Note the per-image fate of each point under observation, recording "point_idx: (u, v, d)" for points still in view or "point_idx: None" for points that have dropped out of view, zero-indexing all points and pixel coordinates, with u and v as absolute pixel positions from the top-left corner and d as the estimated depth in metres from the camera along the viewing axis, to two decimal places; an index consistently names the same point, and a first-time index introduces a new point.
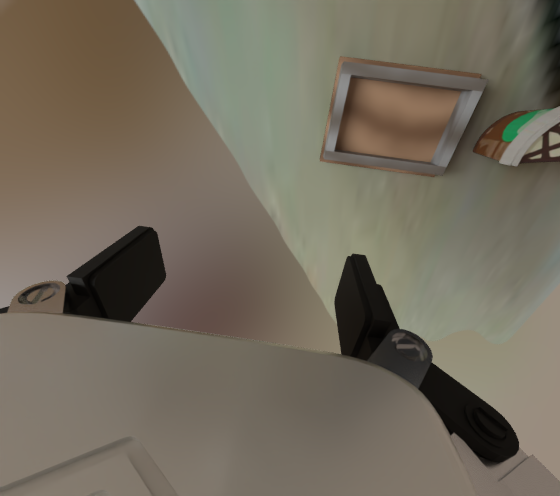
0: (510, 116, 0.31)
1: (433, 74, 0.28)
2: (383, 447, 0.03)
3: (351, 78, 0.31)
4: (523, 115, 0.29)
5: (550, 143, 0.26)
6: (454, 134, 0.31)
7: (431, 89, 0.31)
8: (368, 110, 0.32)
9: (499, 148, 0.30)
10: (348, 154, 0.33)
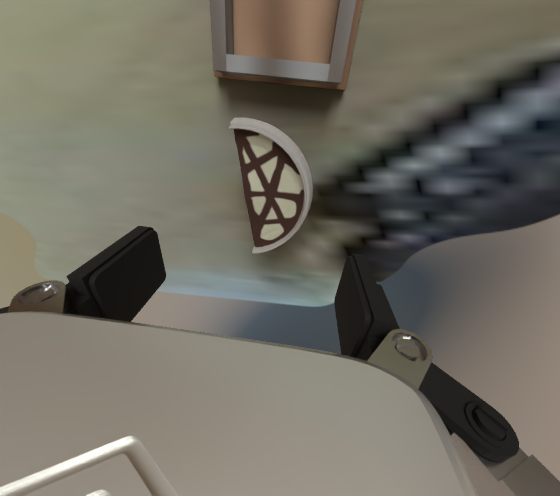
0: None
1: None
2: (383, 447, 0.03)
3: None
4: None
5: (263, 165, 0.19)
6: (273, 62, 0.20)
7: (334, 12, 0.20)
8: None
9: None
10: None
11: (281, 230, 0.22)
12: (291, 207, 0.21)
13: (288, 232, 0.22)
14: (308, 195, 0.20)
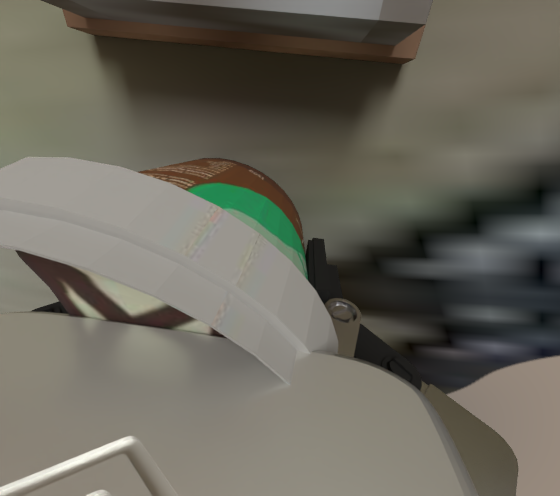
0: (292, 209, 0.12)
1: None
2: (383, 447, 0.03)
3: None
4: (293, 228, 0.10)
5: None
6: None
7: None
8: None
9: (168, 177, 0.07)
10: None
11: None
12: None
13: None
14: None
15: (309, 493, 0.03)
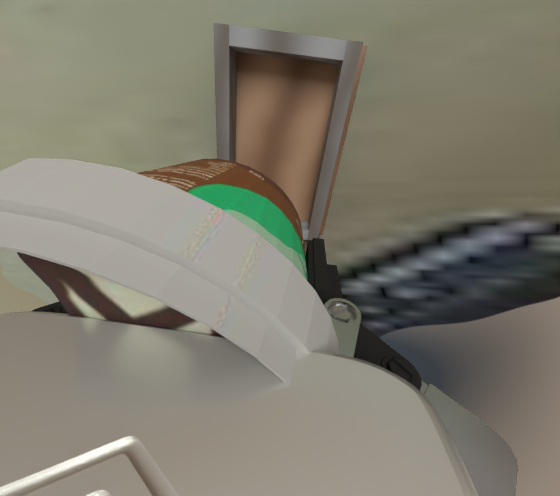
0: (292, 210, 0.12)
1: (328, 185, 0.23)
2: (383, 447, 0.03)
3: (336, 72, 0.20)
4: (293, 229, 0.10)
5: None
6: None
7: (312, 190, 0.26)
8: (293, 110, 0.22)
9: (169, 178, 0.07)
10: (228, 78, 0.19)
11: None
12: None
13: None
14: None
15: (309, 493, 0.03)
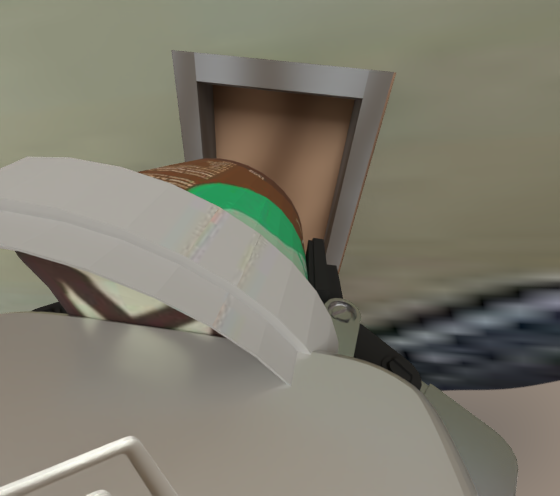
0: (292, 210, 0.12)
1: (340, 254, 0.17)
2: (383, 447, 0.03)
3: (351, 108, 0.15)
4: (293, 229, 0.10)
5: None
6: None
7: None
8: (292, 157, 0.16)
9: (169, 177, 0.07)
10: (198, 125, 0.14)
11: None
12: None
13: None
14: None
15: (309, 493, 0.03)
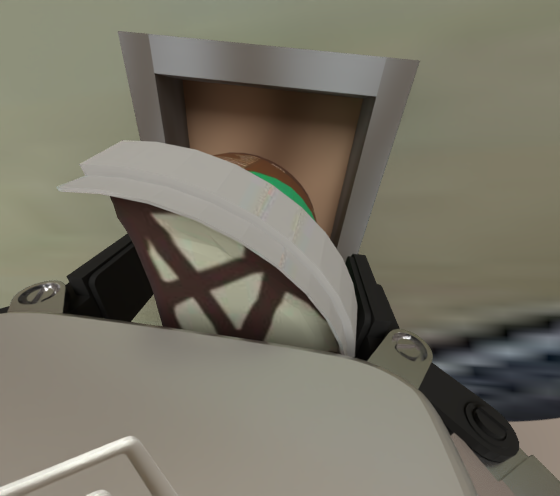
0: (309, 201, 0.13)
1: None
2: (383, 447, 0.03)
3: (358, 110, 0.11)
4: (312, 216, 0.11)
5: (219, 291, 0.06)
6: None
7: None
8: None
9: None
10: (161, 131, 0.11)
11: None
12: None
13: None
14: None
15: (309, 493, 0.03)
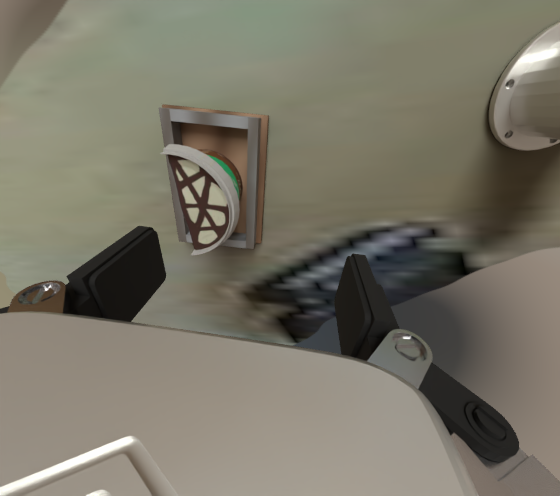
0: (234, 169, 0.30)
1: (253, 208, 0.32)
2: (383, 447, 0.03)
3: None
4: (232, 172, 0.29)
5: (194, 183, 0.24)
6: None
7: None
8: None
9: None
10: (172, 140, 0.28)
11: (215, 235, 0.27)
12: (220, 217, 0.25)
13: (220, 237, 0.27)
14: (233, 207, 0.25)
15: (309, 493, 0.03)
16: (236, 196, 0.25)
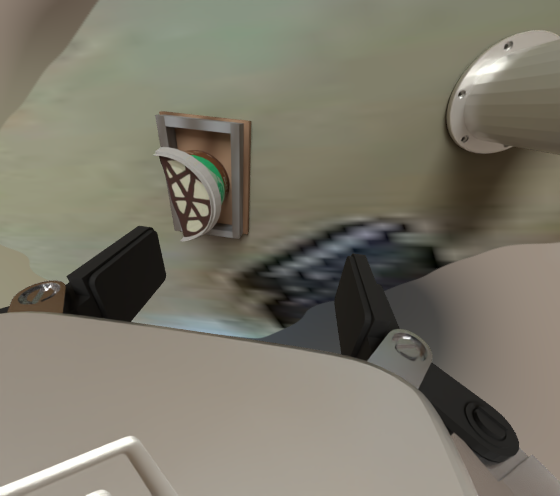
0: (221, 167, 0.35)
1: (238, 202, 0.36)
2: (383, 447, 0.03)
3: None
4: (218, 171, 0.33)
5: (181, 179, 0.28)
6: None
7: None
8: None
9: None
10: (167, 143, 0.33)
11: (200, 225, 0.31)
12: (204, 209, 0.30)
13: (205, 226, 0.31)
14: (214, 201, 0.29)
15: (309, 493, 0.03)
16: (217, 191, 0.29)
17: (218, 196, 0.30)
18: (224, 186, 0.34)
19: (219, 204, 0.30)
